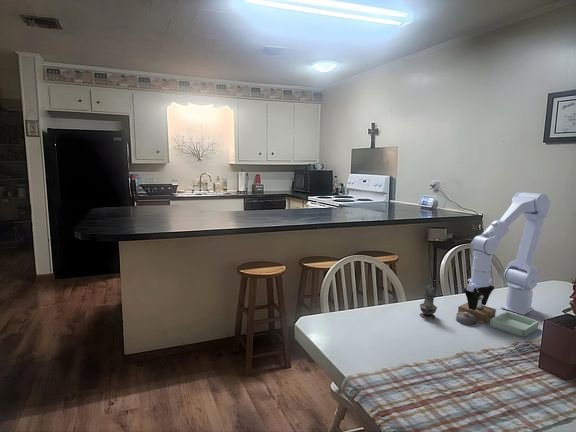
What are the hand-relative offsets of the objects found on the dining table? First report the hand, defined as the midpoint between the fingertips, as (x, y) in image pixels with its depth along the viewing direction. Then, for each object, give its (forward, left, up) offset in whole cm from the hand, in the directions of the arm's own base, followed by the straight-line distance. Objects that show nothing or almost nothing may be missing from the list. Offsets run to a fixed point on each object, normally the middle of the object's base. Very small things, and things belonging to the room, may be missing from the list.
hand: (477, 306), depth 133 cm
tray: (-1, +12, -3) cm, 13 cm away
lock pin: (0, 0, -3) cm, 3 cm away
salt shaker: (+15, -10, -4) cm, 18 cm away
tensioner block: (+3, 0, -3) cm, 5 cm away
